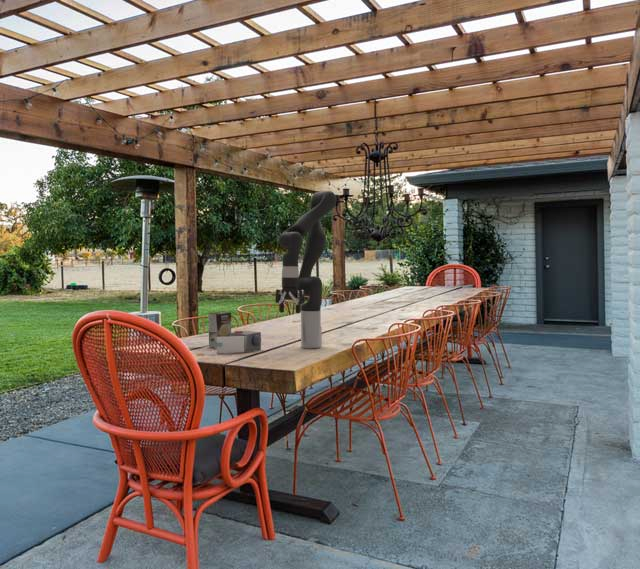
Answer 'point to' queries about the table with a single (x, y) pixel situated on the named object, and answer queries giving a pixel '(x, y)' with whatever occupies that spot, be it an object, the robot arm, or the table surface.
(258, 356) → the table surface
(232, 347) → the side door
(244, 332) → the block
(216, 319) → the coffee box
